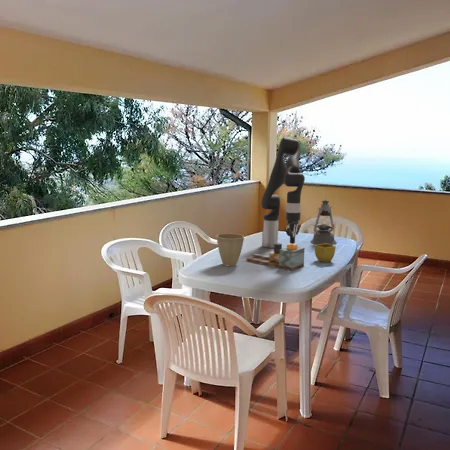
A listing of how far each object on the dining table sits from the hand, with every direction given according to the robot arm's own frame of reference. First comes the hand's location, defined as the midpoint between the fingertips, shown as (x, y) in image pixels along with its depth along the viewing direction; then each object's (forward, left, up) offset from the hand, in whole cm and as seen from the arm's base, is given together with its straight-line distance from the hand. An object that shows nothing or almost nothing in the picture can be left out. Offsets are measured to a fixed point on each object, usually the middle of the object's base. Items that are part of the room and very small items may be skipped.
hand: (292, 243), depth 245 cm
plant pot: (-28, -18, -13) cm, 36 cm away
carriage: (-9, 0, -11) cm, 14 cm away
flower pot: (+7, +23, -13) cm, 27 cm away
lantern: (-19, +67, -13) cm, 71 cm away
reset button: (0, 0, -4) cm, 4 cm away
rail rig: (-11, 0, -13) cm, 17 cm away
